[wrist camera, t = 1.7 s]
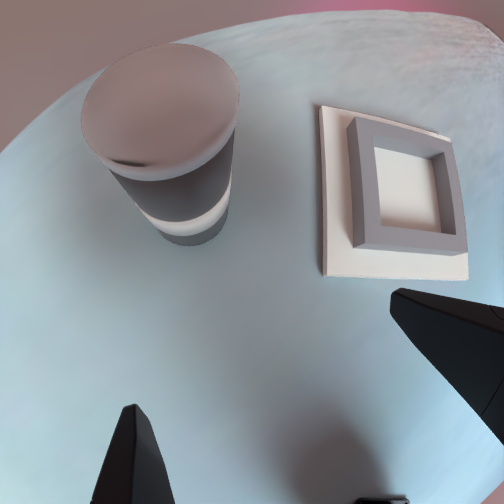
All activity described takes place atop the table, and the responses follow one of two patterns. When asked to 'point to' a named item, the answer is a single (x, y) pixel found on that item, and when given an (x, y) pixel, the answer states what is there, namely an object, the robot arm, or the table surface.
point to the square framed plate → (389, 200)
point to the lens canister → (168, 136)
